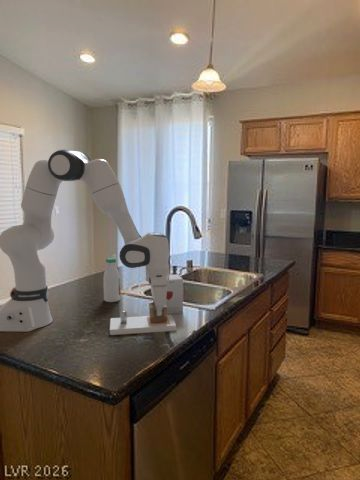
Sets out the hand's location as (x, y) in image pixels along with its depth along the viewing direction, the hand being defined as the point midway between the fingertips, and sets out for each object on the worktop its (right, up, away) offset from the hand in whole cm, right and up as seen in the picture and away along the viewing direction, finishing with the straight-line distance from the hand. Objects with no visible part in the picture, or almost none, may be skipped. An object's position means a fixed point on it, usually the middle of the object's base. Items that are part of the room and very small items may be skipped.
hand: (157, 311), depth 140 cm
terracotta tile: (0, -4, +1) cm, 4 cm away
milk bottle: (-24, -2, +34) cm, 41 cm away
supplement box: (+4, -4, +18) cm, 19 cm away
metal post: (-13, -4, -2) cm, 14 cm away
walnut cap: (0, -4, 0) cm, 4 cm away
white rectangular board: (-6, -6, 0) cm, 8 cm away
